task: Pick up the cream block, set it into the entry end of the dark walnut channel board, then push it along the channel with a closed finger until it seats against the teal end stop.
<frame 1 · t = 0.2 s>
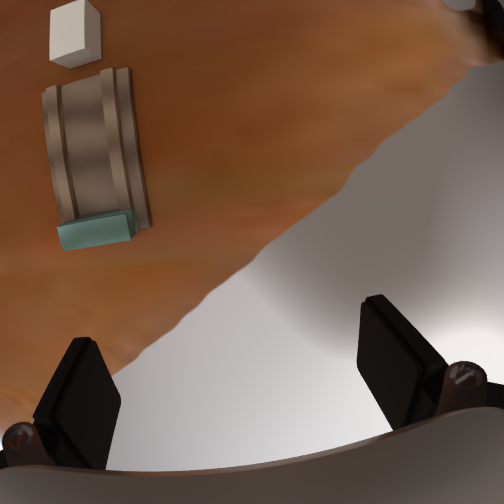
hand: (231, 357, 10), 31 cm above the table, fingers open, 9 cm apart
channel board: (94, 156, 35), on the table
cream block: (84, 40, 30), on the table
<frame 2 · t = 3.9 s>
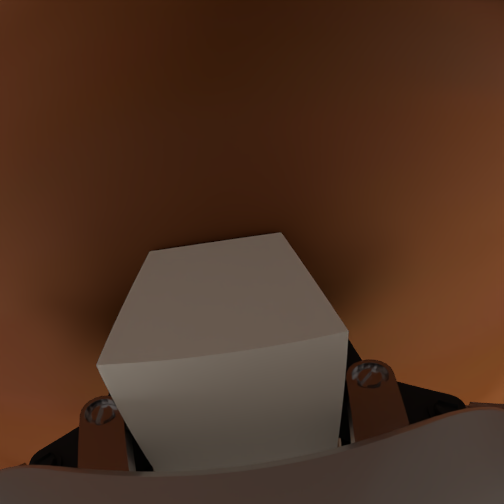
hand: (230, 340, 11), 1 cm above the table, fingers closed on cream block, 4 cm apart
cream block: (229, 329, 12), on the table, touching gripper
when the fingers open (4 cm above the table, at t = 7.6 s): cream block drops 2 cm, resting on channel board.
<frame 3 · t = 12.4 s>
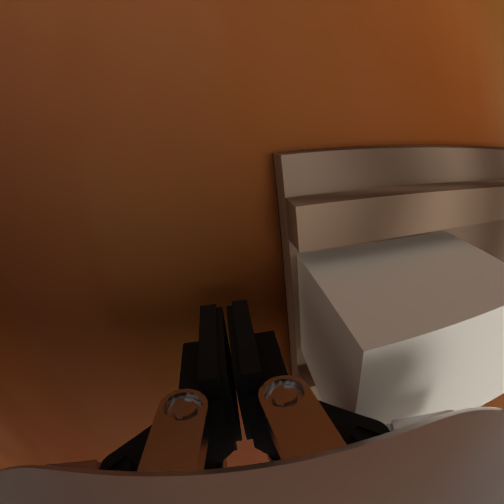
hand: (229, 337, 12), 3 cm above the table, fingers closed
channel board: (461, 257, 15), on the table
cream block: (378, 291, 13), point 2 cm above the table, touching channel board, gripper
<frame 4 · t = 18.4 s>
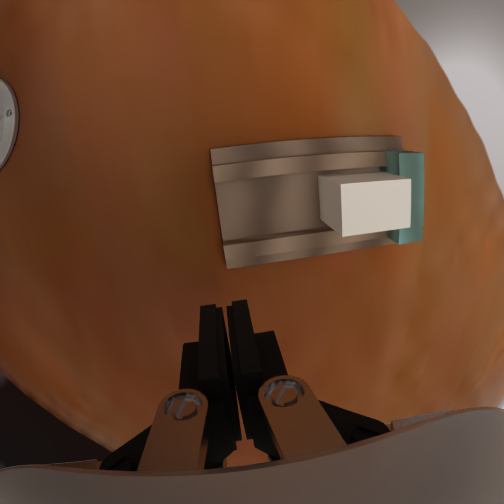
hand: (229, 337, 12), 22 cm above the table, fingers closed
channel board: (314, 196, 33), on the table
cream block: (351, 194, 32), point 1 cm above the table, touching channel board
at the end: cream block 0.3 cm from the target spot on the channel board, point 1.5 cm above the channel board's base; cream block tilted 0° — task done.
